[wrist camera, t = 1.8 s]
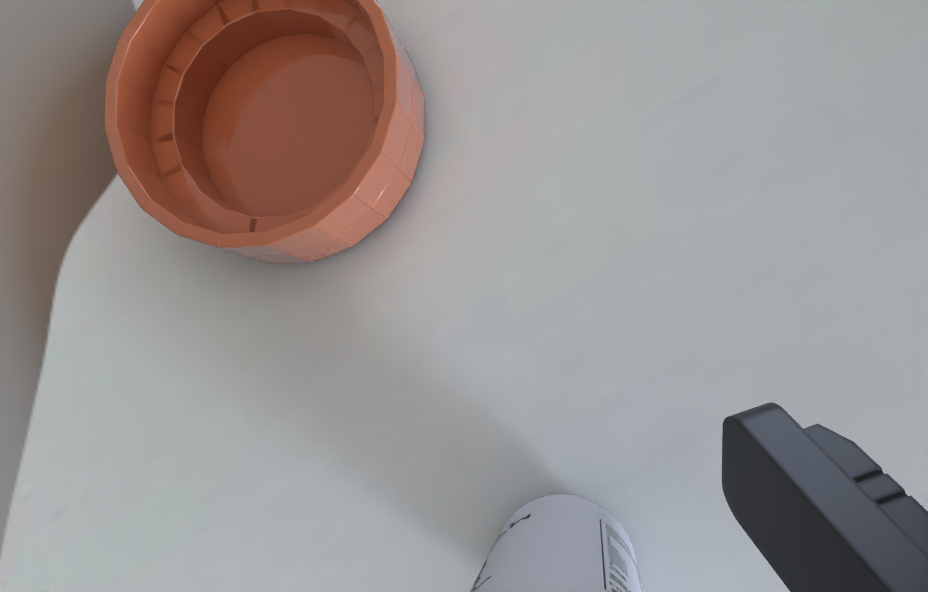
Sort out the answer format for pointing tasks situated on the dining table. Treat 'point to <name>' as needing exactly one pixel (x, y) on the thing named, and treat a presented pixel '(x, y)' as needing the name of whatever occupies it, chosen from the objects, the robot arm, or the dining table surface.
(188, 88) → the bowl
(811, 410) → the dining table surface
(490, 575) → the energy drink can
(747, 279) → the dining table surface
